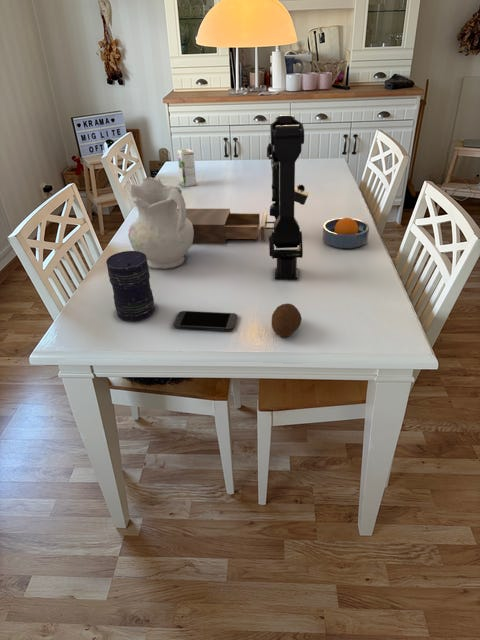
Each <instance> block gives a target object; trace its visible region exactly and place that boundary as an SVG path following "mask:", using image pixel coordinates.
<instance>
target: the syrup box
mask: <svg viewBox="0 0 480 640" xmlns="http://www.w3.org/2000/svg"><path fill="white" fill-rule="evenodd" d="M194 154H195V152H194V151H193V150H192V149H190V148H182V149H178V150H177V160H178V162H177V163H178V172H179V182H180V185H182V186H183V187H184V188H187V187H192V186H196V185H197V176H196V163H195V155H194Z"/></svg>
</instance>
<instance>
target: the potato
mask: <svg viewBox="0 0 480 640" xmlns="http://www.w3.org/2000/svg"><path fill="white" fill-rule="evenodd" d="M302 319H303V317H302V314H301V313H300V310H299V309H298V308H297V307H296V306H295V305H294V304H293V303H287V302H286V303H282V304H280V305H277V307H276V308H275V309H274V311H273V313H272V315H271V328H272V330H273V332H274V333H275V334H276V335H277V336H278V337H281V338H287V337H289V336H291V335H292V334H293V333H295V332H296V331H297V330H298V329H299V327H300V326H301V323H302Z"/></svg>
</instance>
